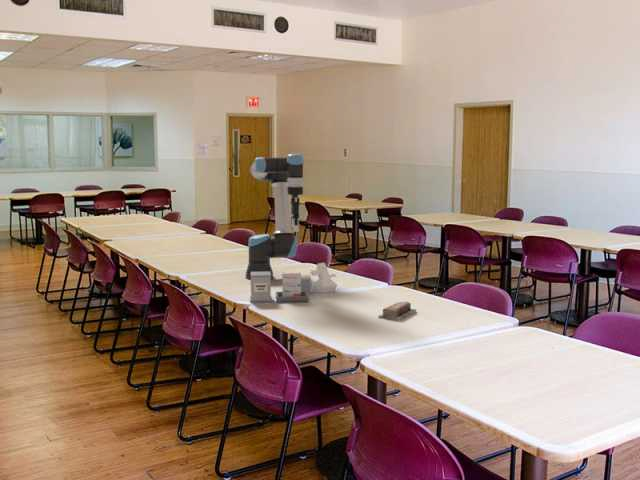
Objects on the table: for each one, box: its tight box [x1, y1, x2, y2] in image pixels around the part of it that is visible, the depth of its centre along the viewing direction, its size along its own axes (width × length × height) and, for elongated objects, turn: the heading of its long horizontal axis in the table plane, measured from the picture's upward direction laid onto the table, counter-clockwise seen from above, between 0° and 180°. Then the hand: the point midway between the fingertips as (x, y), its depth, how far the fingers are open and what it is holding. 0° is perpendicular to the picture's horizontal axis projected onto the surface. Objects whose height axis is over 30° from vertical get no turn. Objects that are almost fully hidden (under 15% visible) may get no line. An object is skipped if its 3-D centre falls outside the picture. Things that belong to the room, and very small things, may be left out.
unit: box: [249, 272, 273, 303], centre depth 307 cm, size 10×10×13 cm
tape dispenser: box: [310, 262, 338, 294], centre depth 327 cm, size 8×14×14 cm, turn 126°
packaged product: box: [377, 301, 417, 321], centre depth 281 cm, size 18×5×10 cm
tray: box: [275, 291, 309, 303], centre depth 309 cm, size 12×15×2 cm
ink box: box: [281, 271, 302, 297], centre depth 309 cm, size 9×5×12 cm, turn 88°
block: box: [301, 274, 312, 294], centre depth 324 cm, size 5×5×8 cm
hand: (295, 229), depth 323 cm, fingers open, 13 cm apart
